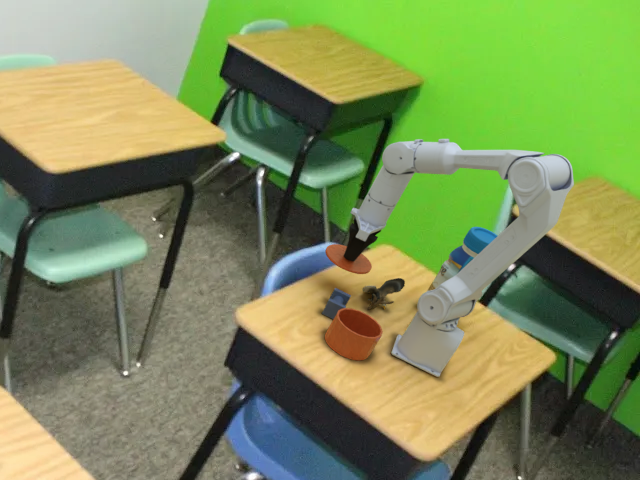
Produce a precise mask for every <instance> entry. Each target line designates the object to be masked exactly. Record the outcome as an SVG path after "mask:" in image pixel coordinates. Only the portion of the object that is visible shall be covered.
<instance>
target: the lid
mask: <svg viewBox="0 0 640 480" xmlns="http://www.w3.org/2000/svg"><path fill="white" fill-rule="evenodd" d="M346 248H347V245H344V244H337V243H336V244H335V243H334V244H333V243H332V244H329V245H328V246H327V247H326V248H325V251H324V253H325V256H326V257H327V259H328V260H329V261H330V262H331V263H332V264H333V265H335V266H336V267H338V268H339V269H342V270H344V271H346V272H348V273H352V274H357V275H367V274H368V273H370V272H371V270H372V268H373V265H372V263H371V261H370V260H369V258H368V257H367V256H366V255H364V254H363V253H361V254H360V255H359V257H358V258H357V259H356V260H355V261H354V262H353V261H351V260H348V259H346V258H344V255H345V251H346Z"/></svg>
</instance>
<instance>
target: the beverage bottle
mask: <svg viewBox="0 0 640 480" xmlns="http://www.w3.org/2000/svg"><path fill="white" fill-rule="evenodd" d="M498 235H499V234H496V233H495V232H493V231H491V230H489V229H487V228H486V227H485V228H484V227H481V226H472V227H471V228H470V229H469V230H468V231H467V233H466V235H465V236H464V238H463V240H462V245H458V247H456V248H454V249H453V250H451V251H450V253H449V255H448V259H446V260H445V261H443V263H442V264H441V266H440V269H439V271H438V272H437V273H436V276H434V278H433V280H432V282H431V283H430V284H429V287H428V288H427V290H426V292H427V291H430V290H434V289H436V288H437V287H438V286H439V285H440V284H442V283H444V282H445V281H447V280H449V279H450V278H452V277H454V276H455V275H457V274H458V273H459V272H460V271H461V270H462V269H463V268H464V267H465V266H466V265H467V264H468V263H469V262H470V261H472V260H473V259H474V258H475V257H476V256H477V255H478V254H479V253H480V252H481V251H482V250H483V249H484V248H486V247H487V246H488V245H489V244H490V243H491V242H492V241H493V240H494V239H495V238H496V237H497V236H498Z"/></svg>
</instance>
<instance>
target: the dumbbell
mask: <svg viewBox="0 0 640 480" xmlns="http://www.w3.org/2000/svg"><path fill="white" fill-rule="evenodd" d="M351 296H352V295H351V294H349V293H347V292H345V291H343V290H341V289H339V288H337V287H334V289H333V291H332V293H331V294H330V297H329V298H328V300H327V302H326V305H325V307H324V308H323V310H322V312H321V315H323V316H325V317H327V318H330V319H331V320H333V319H334V317H335V316H336V314H337V312H338V310H340V309H343V308H347V304H348V303H349V301H350V299H351Z"/></svg>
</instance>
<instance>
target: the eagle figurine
mask: <svg viewBox="0 0 640 480" xmlns="http://www.w3.org/2000/svg"><path fill="white" fill-rule="evenodd" d="M405 284H406V281H405V279H403V278H400V277H396V278H392V279H389V280H386V281H384V283H383V284H382V285H381V286H380V287H378V288H377V286H376V285H365V286H363V287H362V289H361V291H362V292H363V293H369V294H370V296H371V297H370V298H368V299H367V301H368V302H370V305H369V306H368V307H367V310H368V311H369V310H371V309H374V308H376V307H377V306H381V307H382V308H383V310H384V311H385V310H386V307H387V305H392V304H394V303H395V301H394V300H392V301H386V299H387V295H392V294H394V293H395V294H396V293H400V292H401V291H402V290H403V289H404V287H405Z"/></svg>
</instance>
